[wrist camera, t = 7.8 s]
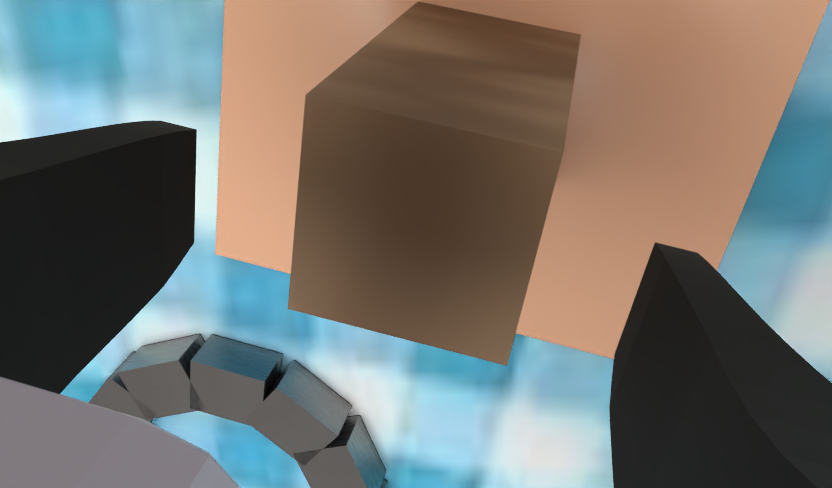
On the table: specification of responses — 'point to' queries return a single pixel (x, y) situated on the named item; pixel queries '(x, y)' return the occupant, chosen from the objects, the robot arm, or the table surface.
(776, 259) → the table surface
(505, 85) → the link block
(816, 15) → the terracotta tile
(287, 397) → the holder ring
